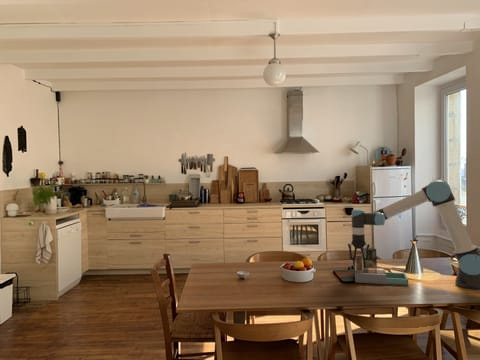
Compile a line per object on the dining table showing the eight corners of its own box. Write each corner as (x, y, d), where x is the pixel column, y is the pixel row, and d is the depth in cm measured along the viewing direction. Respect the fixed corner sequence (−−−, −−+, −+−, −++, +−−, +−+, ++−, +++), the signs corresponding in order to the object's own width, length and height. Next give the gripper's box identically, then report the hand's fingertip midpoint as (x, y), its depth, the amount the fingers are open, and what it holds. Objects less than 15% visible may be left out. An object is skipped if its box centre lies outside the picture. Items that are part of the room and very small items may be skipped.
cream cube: (383, 275, 226) (383, 268, 226) (384, 276, 222) (383, 270, 222) (376, 274, 227) (376, 268, 227) (377, 276, 224) (376, 270, 224)
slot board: (384, 277, 231) (384, 269, 231) (386, 284, 217) (386, 275, 217) (355, 276, 236) (354, 267, 236) (355, 282, 223) (355, 273, 223)
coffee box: (374, 270, 248) (374, 247, 247) (377, 273, 241) (376, 249, 241) (361, 270, 249) (360, 247, 248) (363, 273, 242) (362, 249, 242)
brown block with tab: (362, 272, 232) (361, 253, 232) (362, 275, 224) (361, 256, 224) (356, 272, 233) (355, 253, 233) (356, 275, 225) (356, 256, 225)
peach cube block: (375, 274, 228) (374, 268, 228) (375, 276, 224) (375, 269, 224) (368, 274, 229) (368, 267, 229) (368, 275, 225) (368, 269, 225)
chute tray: (405, 278, 227) (405, 273, 227) (408, 285, 214) (408, 279, 214) (384, 277, 231) (384, 272, 231) (386, 284, 217) (386, 278, 217)
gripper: (371, 233, 229) (372, 269, 230) (344, 232, 234) (345, 268, 235) (372, 235, 222) (373, 273, 223) (344, 234, 227) (345, 271, 228)
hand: (359, 270), depth 229 cm, fingers closed on brown block with tab, 3 cm apart
